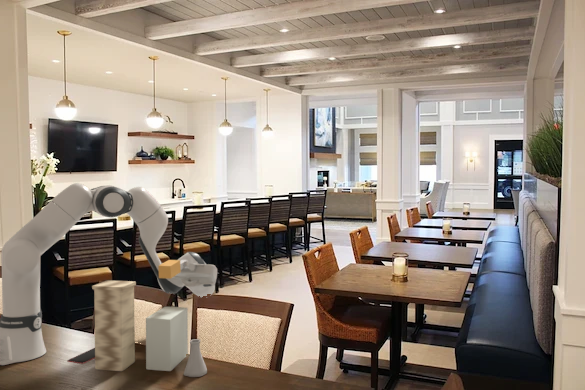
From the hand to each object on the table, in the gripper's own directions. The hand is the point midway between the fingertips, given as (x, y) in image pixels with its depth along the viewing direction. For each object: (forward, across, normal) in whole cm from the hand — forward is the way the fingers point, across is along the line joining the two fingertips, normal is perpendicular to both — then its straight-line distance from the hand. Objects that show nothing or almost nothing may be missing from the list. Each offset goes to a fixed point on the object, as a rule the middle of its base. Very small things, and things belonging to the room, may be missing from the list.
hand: (180, 263), depth 172 cm
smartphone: (-6, -28, +32) cm, 43 cm away
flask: (+1, +12, +35) cm, 37 cm away
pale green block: (-5, 0, +32) cm, 32 cm away
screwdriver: (+3, 0, +4) cm, 5 cm away
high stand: (0, -15, +34) cm, 38 cm away
